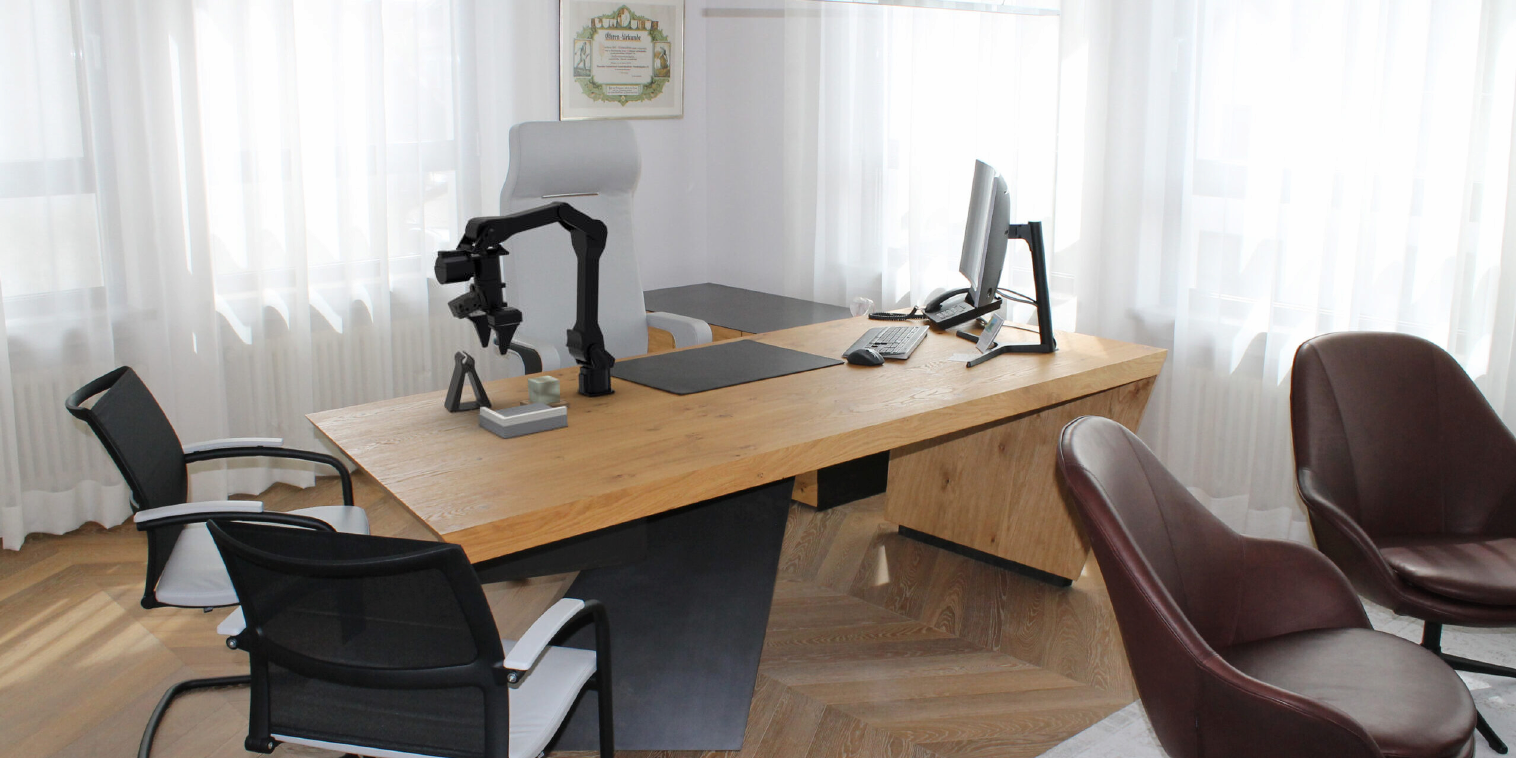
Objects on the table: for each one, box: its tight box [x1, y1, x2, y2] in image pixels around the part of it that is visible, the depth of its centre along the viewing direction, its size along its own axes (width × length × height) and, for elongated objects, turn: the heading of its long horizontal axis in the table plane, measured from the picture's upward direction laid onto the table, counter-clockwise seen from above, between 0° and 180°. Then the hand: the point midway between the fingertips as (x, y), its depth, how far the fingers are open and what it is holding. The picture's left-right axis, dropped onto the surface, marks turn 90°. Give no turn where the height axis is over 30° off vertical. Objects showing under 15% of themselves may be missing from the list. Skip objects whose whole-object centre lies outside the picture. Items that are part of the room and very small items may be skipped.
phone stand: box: [443, 350, 493, 414], centre depth 238 cm, size 9×6×12 cm, turn 118°
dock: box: [477, 402, 569, 439], centre depth 225 cm, size 14×12×4 cm
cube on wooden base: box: [519, 375, 571, 410], centre depth 238 cm, size 8×8×6 cm
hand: (494, 351), depth 232 cm, fingers open, 9 cm apart
